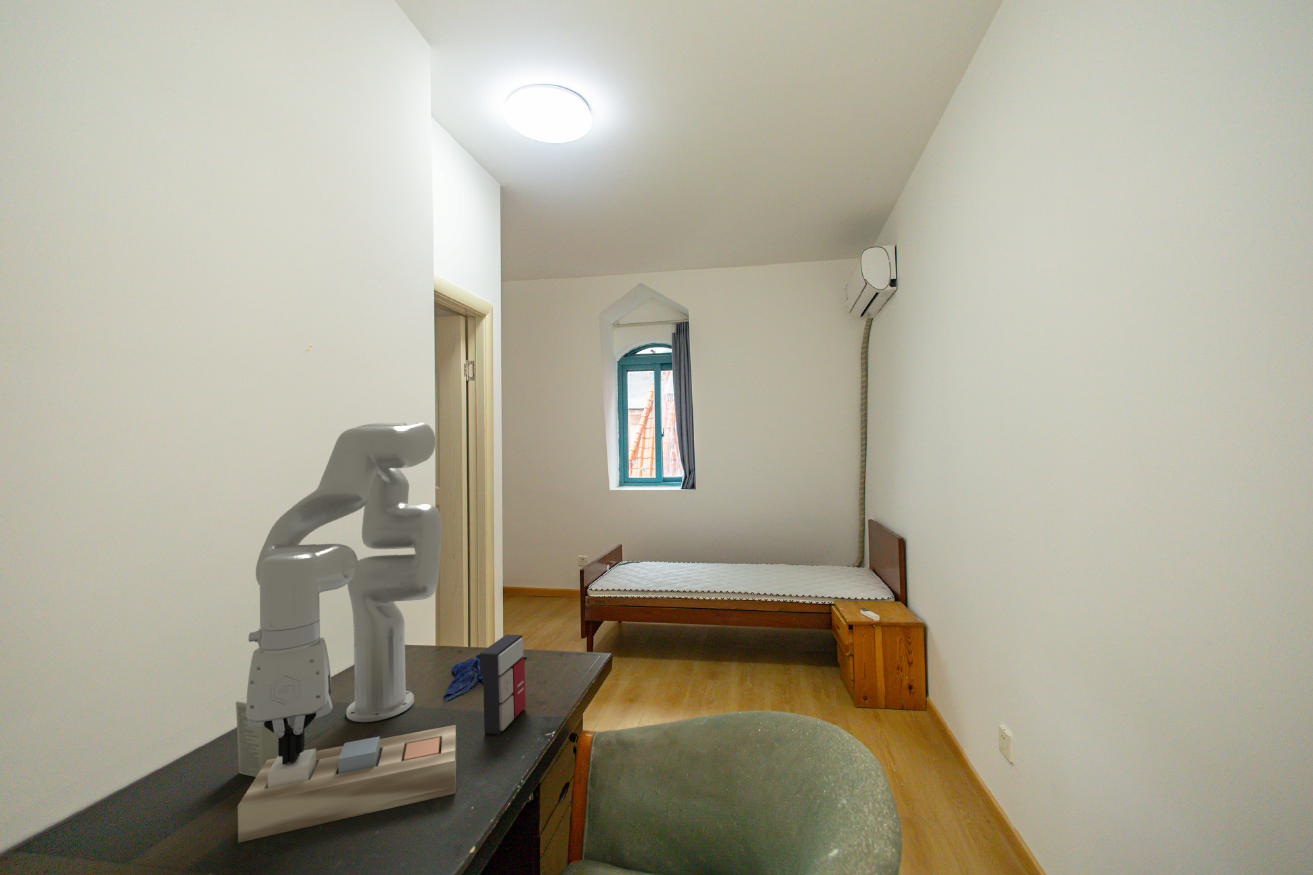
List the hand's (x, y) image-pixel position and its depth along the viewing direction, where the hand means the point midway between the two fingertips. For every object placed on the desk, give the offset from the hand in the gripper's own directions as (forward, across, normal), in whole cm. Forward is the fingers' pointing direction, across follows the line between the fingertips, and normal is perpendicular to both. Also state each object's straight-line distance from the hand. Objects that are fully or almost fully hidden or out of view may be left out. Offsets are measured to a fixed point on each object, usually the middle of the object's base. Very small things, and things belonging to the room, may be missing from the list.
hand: (291, 758), depth 82 cm
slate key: (+3, +9, 0) cm, 10 cm away
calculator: (+7, +32, +15) cm, 36 cm away
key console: (+7, +9, 0) cm, 12 cm away
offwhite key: (+3, 0, 0) cm, 3 cm away
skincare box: (+7, -8, +14) cm, 18 cm away
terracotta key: (+5, +18, 0) cm, 19 cm away
